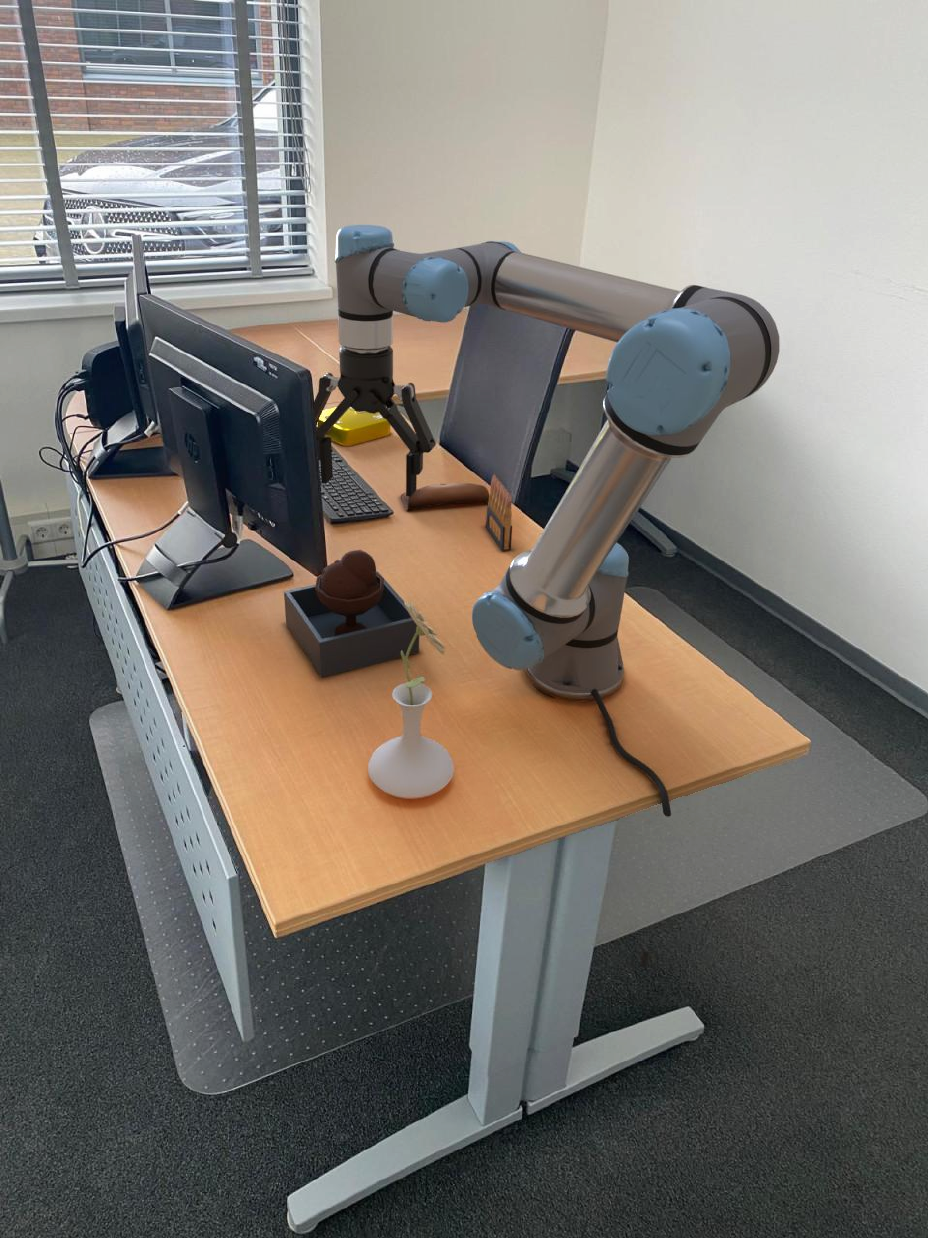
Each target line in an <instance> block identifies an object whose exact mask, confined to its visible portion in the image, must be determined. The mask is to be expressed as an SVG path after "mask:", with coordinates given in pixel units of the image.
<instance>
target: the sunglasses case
mask: <svg viewBox="0 0 928 1238" xmlns="http://www.w3.org/2000/svg"><path fill="white" fill-rule="evenodd" d="M489 493H490V491H489V490H488V488H487V487H486V486H485V485H482V484H477V483H472V482H451V483H439V484H429V485H424V486H422V487H420V488H416V491H415V492H414V493H413V495H412V496H411V497H409V496H406V491H405V492H403V493H401V494H400V498H401V502H402V504H403V506H404V508H405V510H406V511H409V509H410V510H414V509H421V508H427V507H434V506H437V505H453V504H467V503H476V502H477V503H478V502H486V503H489Z"/></svg>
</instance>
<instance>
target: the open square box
mask: <svg viewBox="0 0 928 1238" xmlns="http://www.w3.org/2000/svg"><path fill="white" fill-rule="evenodd" d="M376 573H377V574H379V575H380V576H382V574H381V573H379V571H377V570H376ZM315 586H316V584H311V585H307V586H302V587H297V588H293V589H288V590H284V591H283V598H284V599H283V600H284V614H285V625H286V627H287V628H288V630H289V631H290V633H291V634H292V636H293V637H294V639H295V640H296V641H297V643H298V645H299V646H300V648H301V649H302V651H303V652H304V654H305V656H306V657H307V658H308V660H309V661H310V663H311V664H312V667H313V668H314V669H315V670H316V672H317V673H318V675H319V677H320V678H327V677H330V676H334V675H338V674H341V673H345V672H349V671H354V670H357V669H361V668H365V667H368V666H372V665H376V664H380V663H384V662H389V661H392V660H396V659H400V658H402V656H401V651H403V653H404V655H405V656H406V653H407V650H408V648H409V646H410V643H411V641H412V639H413V637H414V635H415V633H416V628H417V625H416V623H415V622H414V620H413V619H412V617H411V616H410V614H409V612H408V611H407V609H406V607H405V604H404V602H405V601H404V599H403V598H402V597H401V596H400V594H398V592H396V591H395V589H394V588H393V587H392V586H391V585H390V584H389V582H388V581H387V580H386V579H385V578H384V589H383V594H382V597H381V599H380V601H379V603H378V604H376V605H375V606H374V607H373V608H371V609H370V610H368V611H367V612H365V613H364V614H362V615H358V616H356V622H357V623H361V624H363V625H364V626H365V627H366V628H367V629H363V630H359V631H354V632H350V633H346V634H342V635H338V636H335V630H336V627H338V626H339V625H341V624H342V623H346V617H345V616H343V615H338V614H336V613H334V612H333V611H331V610H330V609H329V608H328V607H326V606H325V605H324V604H323V603H321V601H320V600H319V598H318V597H317V593H316V590H315ZM419 653H420V635H418V636H417V638H416V639H415V641H414V643H413V646H412V648H411V650H410V653H409V656H410V655H415V654H419Z"/></svg>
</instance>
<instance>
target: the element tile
mask: <svg viewBox="0 0 928 1238" xmlns="http://www.w3.org/2000/svg"><path fill="white" fill-rule="evenodd" d="M336 408H337V406H335V407H332V408H327V409H323V412H322V414H321V416H320V418H319V420H318V428H319V427H320V426H321V425H322V424H323V423H324V422H325V420H326V419H327V418H328V417H329V416H330V415H331V414H332V412H333V411H334V410H335V409H336ZM389 435H391V425H390V424H389V422H388V421H387V420H386V419H384V418H383V417H382V416H381V414H380V413H379V412H377V413H375V414H372V413H368V412H366V411H362V412H357V411H355V410H354V409H353V408H352V407H350V408H349V409H348V410H347V411H346V412H345V413H344V415H343V416H342V417H341V418H340V419H339V420H338V421H337V422H336V424H335V425H334V426H333V427H332V428H331V429H330V430H329V432H328V433H327V434H326V435H325V437H331V442H334V443H336V444H338V445H340V446H343V447H351V446H356V445H359V444H362V443H366V442H370V441H373V440H377V439H380V438H385V437H388V436H389Z"/></svg>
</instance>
